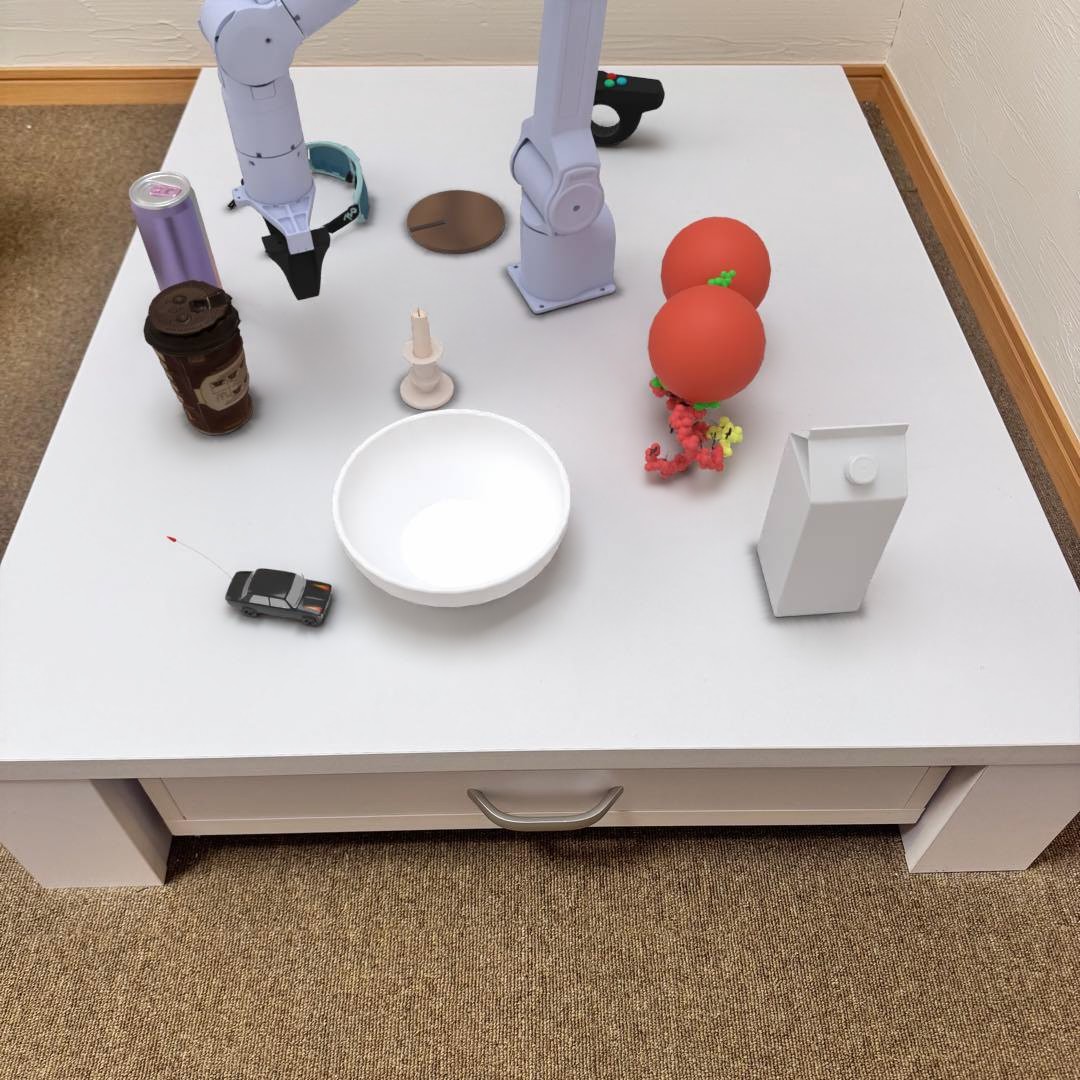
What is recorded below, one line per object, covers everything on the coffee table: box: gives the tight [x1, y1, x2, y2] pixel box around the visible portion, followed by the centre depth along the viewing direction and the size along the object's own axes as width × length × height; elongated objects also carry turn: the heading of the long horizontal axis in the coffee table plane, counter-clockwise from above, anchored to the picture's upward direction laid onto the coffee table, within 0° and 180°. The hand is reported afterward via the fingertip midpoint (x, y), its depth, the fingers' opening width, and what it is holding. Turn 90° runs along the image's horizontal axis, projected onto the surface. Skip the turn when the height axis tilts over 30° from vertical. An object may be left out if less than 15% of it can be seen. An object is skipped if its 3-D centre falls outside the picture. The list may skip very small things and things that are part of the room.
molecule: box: [643, 216, 772, 479], centre depth 98 cm, size 25×11×15 cm, turn 173°
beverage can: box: [128, 170, 224, 292], centre depth 105 cm, size 6×6×15 cm
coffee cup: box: [142, 280, 254, 436], centre depth 97 cm, size 9×8×13 cm
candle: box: [399, 307, 455, 411], centre depth 100 cm, size 5×5×10 cm
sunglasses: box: [226, 140, 370, 254], centre depth 120 cm, size 14×15×5 cm
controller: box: [590, 69, 666, 146], centre depth 126 cm, size 4×12×10 cm, turn 78°
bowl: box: [331, 408, 572, 608], centre depth 90 cm, size 20×20×7 cm
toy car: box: [166, 535, 333, 627], centre depth 86 cm, size 4×12×8 cm, turn 80°
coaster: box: [406, 189, 506, 255], centre depth 120 cm, size 11×11×1 cm
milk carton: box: [756, 421, 910, 618], centre depth 83 cm, size 7×7×19 cm
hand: (298, 270), depth 99 cm, fingers open, 7 cm apart
